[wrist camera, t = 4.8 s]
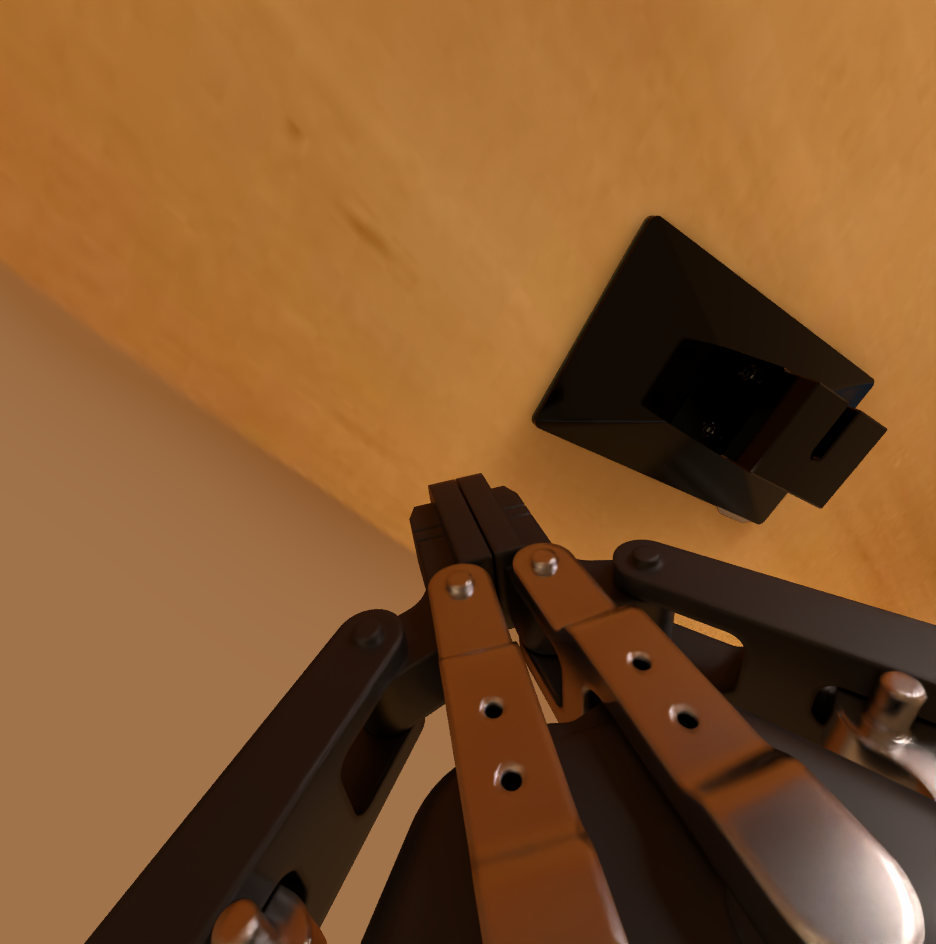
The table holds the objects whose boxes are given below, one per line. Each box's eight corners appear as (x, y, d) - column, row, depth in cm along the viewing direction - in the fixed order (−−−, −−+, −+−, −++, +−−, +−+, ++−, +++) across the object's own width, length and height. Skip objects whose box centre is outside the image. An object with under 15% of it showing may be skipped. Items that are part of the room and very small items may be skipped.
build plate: (866, 377, 20) (1005, 421, 16) (749, 525, 22) (844, 595, 18) (648, 211, 14) (776, 213, 10) (524, 428, 16) (589, 499, 13)
